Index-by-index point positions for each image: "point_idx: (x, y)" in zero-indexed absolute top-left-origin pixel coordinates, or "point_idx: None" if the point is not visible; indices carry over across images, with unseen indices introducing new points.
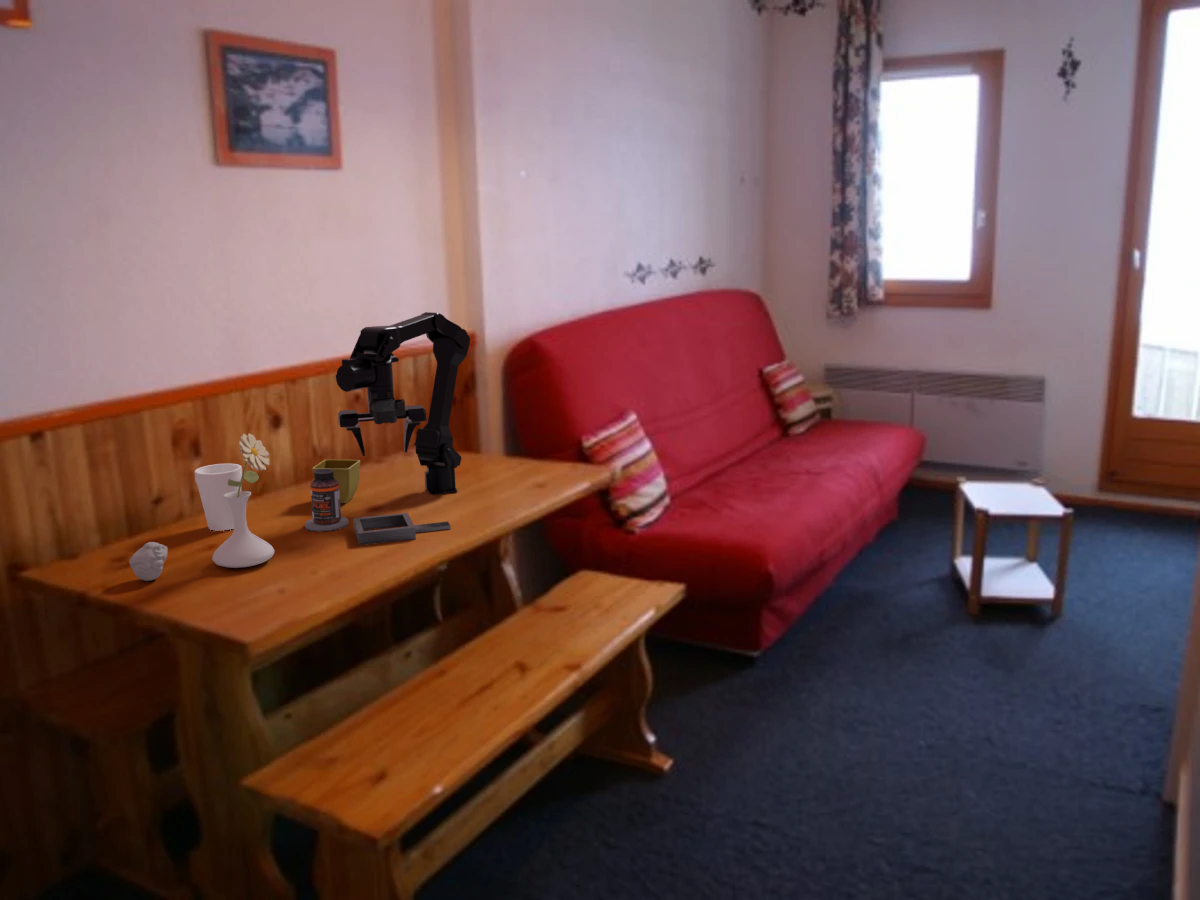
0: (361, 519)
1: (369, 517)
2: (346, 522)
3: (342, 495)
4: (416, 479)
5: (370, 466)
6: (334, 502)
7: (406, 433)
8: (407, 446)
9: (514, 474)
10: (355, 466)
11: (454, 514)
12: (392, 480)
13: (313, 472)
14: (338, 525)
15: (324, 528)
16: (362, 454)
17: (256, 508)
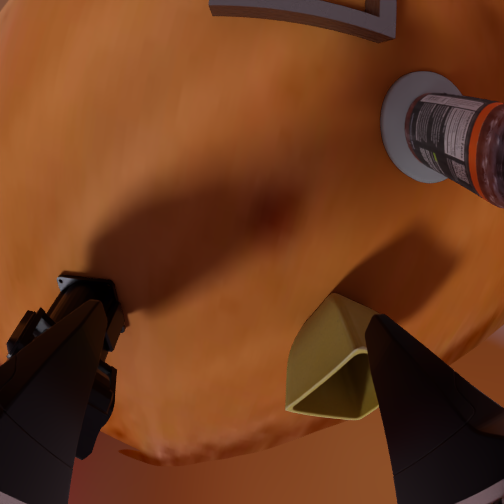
0: (373, 15)
1: (348, 14)
2: (395, 88)
3: (347, 300)
4: (151, 382)
5: (223, 439)
6: (460, 98)
7: (14, 395)
8: (65, 319)
9: (2, 329)
10: (312, 380)
11: (68, 75)
12: (196, 392)
13: None
14: (417, 74)
15: (446, 79)
16: (390, 320)
17: (458, 316)
